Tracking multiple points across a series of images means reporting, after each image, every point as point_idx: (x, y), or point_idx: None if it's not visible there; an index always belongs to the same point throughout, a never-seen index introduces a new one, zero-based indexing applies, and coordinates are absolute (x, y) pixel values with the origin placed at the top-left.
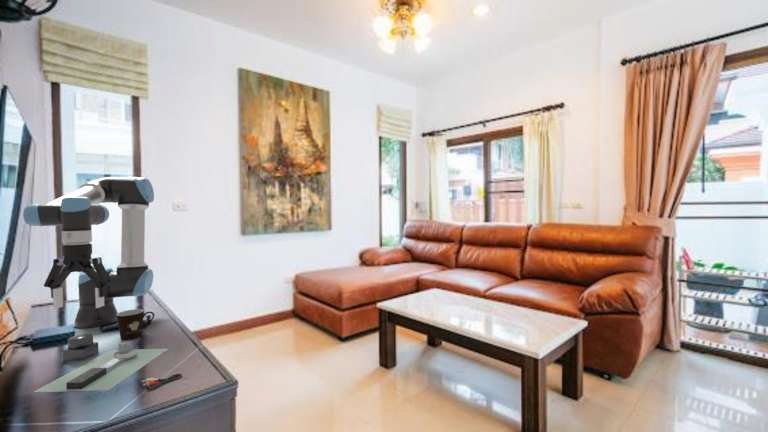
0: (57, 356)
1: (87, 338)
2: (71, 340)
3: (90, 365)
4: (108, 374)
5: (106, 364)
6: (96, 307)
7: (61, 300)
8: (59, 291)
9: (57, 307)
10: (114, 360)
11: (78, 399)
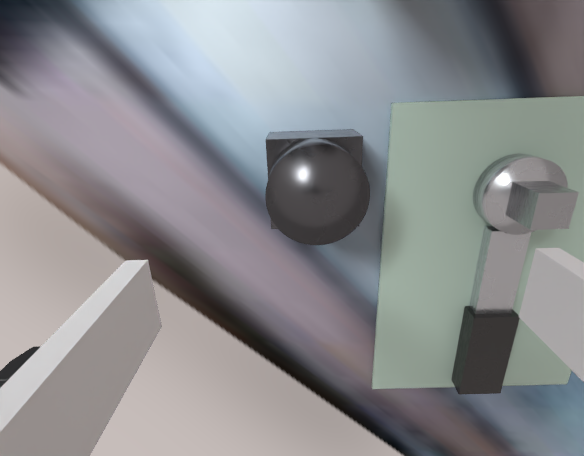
0: (193, 154)
1: (365, 210)
2: (310, 242)
3: (412, 250)
4: (518, 310)
5: (494, 280)
6: (527, 318)
7: (120, 311)
8: (54, 431)
9: (154, 315)
10: (504, 249)
11: (508, 407)
